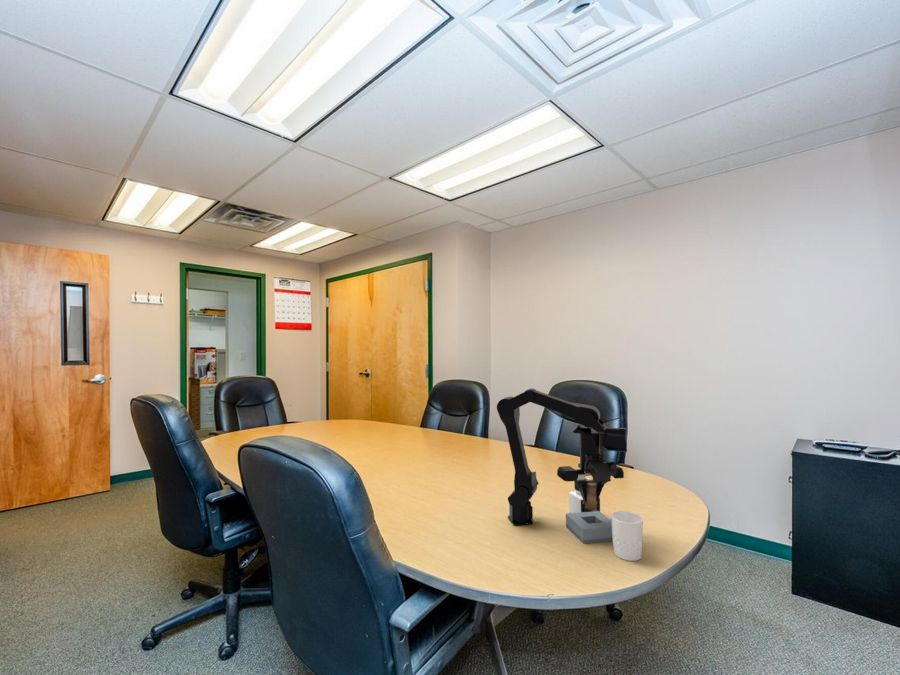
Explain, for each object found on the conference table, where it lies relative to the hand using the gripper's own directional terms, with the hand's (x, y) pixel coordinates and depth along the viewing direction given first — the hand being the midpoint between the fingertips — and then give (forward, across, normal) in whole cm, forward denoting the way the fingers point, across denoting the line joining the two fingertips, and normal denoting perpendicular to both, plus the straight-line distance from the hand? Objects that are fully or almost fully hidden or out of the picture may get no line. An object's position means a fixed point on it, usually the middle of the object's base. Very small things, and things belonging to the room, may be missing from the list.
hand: (590, 501), depth 121 cm
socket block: (+9, 0, 0) cm, 9 cm away
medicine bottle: (+10, +4, +12) cm, 16 cm away
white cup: (+10, +3, -13) cm, 17 cm away
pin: (+2, 0, 0) cm, 2 cm away
